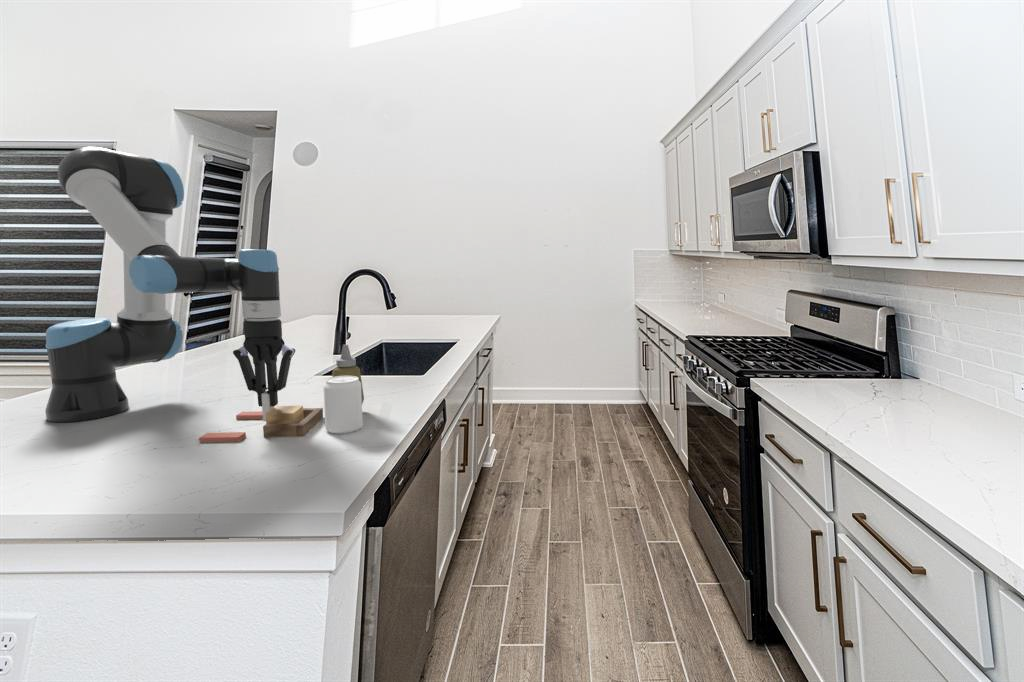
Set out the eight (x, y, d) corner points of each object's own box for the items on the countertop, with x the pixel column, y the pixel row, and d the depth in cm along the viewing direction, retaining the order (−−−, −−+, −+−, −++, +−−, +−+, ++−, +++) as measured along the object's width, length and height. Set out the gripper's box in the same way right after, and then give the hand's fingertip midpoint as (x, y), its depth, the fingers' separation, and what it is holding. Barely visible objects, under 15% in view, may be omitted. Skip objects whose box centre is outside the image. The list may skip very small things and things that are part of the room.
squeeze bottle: (324, 415, 113) (320, 346, 111) (347, 407, 121) (344, 341, 118) (349, 420, 110) (346, 348, 108) (371, 411, 118) (369, 343, 115)
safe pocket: (263, 437, 98) (262, 426, 98) (287, 418, 111) (287, 408, 111) (303, 436, 99) (303, 425, 98) (323, 417, 112) (322, 408, 111)
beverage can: (350, 436, 99) (348, 384, 97) (318, 433, 101) (315, 382, 99) (369, 424, 107) (367, 376, 105) (338, 422, 109) (336, 374, 107)
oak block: (266, 432, 101) (265, 413, 101) (278, 424, 107) (277, 405, 107) (294, 432, 102) (293, 413, 101) (304, 423, 108) (303, 405, 107)
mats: (199, 442, 95) (198, 437, 94) (242, 415, 112) (242, 411, 112) (238, 441, 95) (238, 437, 95) (275, 415, 113) (275, 411, 113)
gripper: (222, 320, 96) (231, 425, 100) (285, 321, 97) (291, 424, 101) (240, 317, 104) (248, 414, 107) (298, 317, 105) (304, 414, 108)
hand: (269, 419), depth 104 cm, fingers closed
